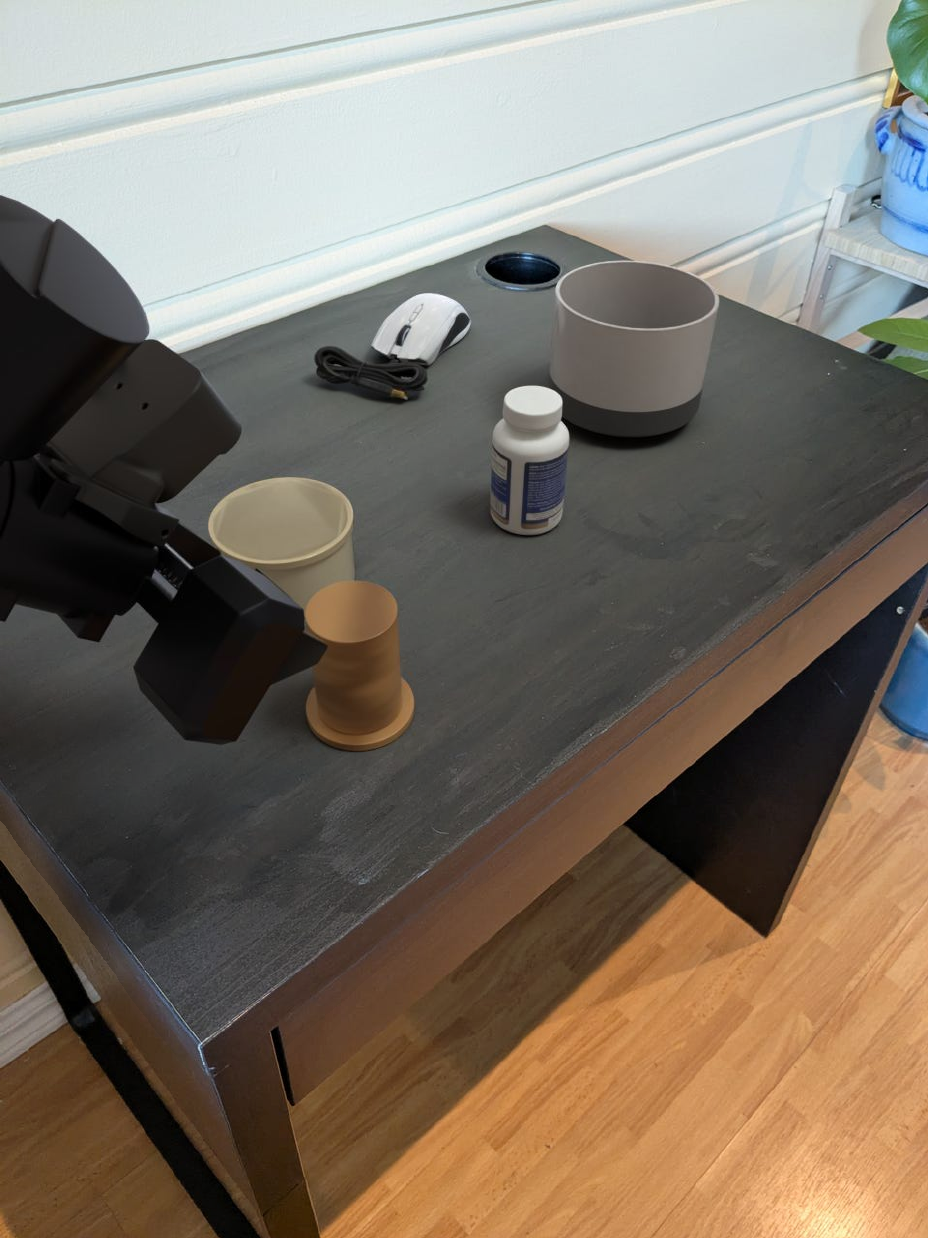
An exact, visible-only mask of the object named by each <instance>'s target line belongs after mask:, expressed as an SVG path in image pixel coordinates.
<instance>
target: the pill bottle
mask: <svg viewBox="0 0 928 1238" xmlns="http://www.w3.org/2000/svg"><path fill="white" fill-rule="evenodd" d="M562 403H563V402H562V398H561V396H560V395H559V394H558V393H557V392H555V391H554V390H551V389H549V388H548V387H545V386H540V385H523V386H519V387H516V388H513V389H511V390H509V391H508V392H507V393H505V396H504V398H503V407H502V418H501V419H500V420H499V421H498V422H497V423H496V425H495V427H494V428H493V432H492V437H491V438H492V439H491V440H492V442H491V466H490V468H491V472H490V473H491V474H490V515H491V519H492V520H493V521H494V523H495V524H496V525H497V526H498V527H499V528H501V529H503V530H505V531H507V532H509V533H512V534H516V535H523V536H535V535H541V534H544V533H546V532H547V533H548V532H549V531H552V530H553V529H554V528H555V527H557V526H558V524H559V523H560V521H561V520H562V517H563V511H564V502H565V500H564V499H565V491H566V480H567V469H568V458H569V448H570V432H569V430H568V427H567V426H566V425H565V424H564V422H563V421H562V418H563V417H562Z"/></svg>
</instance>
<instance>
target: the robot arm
mask: <svg viewBox="0 0 928 1238" xmlns="http://www.w3.org/2000/svg"><path fill="white" fill-rule="evenodd" d="M149 335H150V323H149V320H148V315H147V312H146V311H145V309H144V307H143V305H142V303H141V301H140V299H139V297H138V295H136V293H135V292H134V290H133V289H132V287H131V286H130V285H129V283H128V282H127V280H126V279H125V278H124V277H123V275H122V274H121V273H120V272H119V271H118V270H117V268H116V267H115V266H114V265H113V264H112V263H111V262H110V261H109V259H107V258H106V257H105V255H103V253H101V252H100V251H99V250H98V248H96V247H95V246H94V245H93V244H92V243H91V242H90V241H88V240H87V239H86V238H85V237H84V236H83V235H82V234H80V233H79V232H78V231H77V230H75V229H74V227H72V226H70V225H69V224H68V223H67V222H65V221H64V220H62V219H61V218H56V219H55V220H54V221H53V220H52V219H51V218H49V217H47V216H45V215H44V214H43V213H41V212H39V211H38V210H36V209H35V208H32V207H30V206H28V205H27V204H24V203H23V202H21V201H19V200H16V199H13V198H11V197H7V196H4V195H2V194H0V622H3V623H5V622H6V621H7V619H8V618H9V616H10V614H11V612H12V611H13V609H14V607H15V605H17V606H21V607H25V608H30V609H34V610H38V611H42V612H46V613H50V614H55V615H57V616H58V617H59V619H61V621H62V622H63V623H64V624H65V625H66V626H67V628H69V630H70V631H71V632H72V633H73V634H74V635H75V636H76V638H77V639H80V640H86V641H91V642H95V643H101V640H102V639H103V637H104V635H105V634H106V632H107V631H108V628H109V626H110V625H111V623H112V622H113V620H114V618H115V616H119V617H123V616H125V615H126V614H127V613H128V612H129V611H131V609H132V608H134V606H136V605H137V604H138V605H139V606H140V607H141V608H142V609H143V610H144V611H145V612H146V613H147V614H148V615H149V616H150V618H151V619H153V620H154V621H155V623H157V625H156V627H155V629H154V630H153V632H152V634H151V635H150V637H149V638H148V640H147V642H146V644H145V646H144V648H143V649H142V651H141V652H140V654H139V656H138V658H137V659H136V660H135V663H134V664H133V666H132V668H133V673H134V675H135V678H136V681H137V684H138V688H139V691H140V692H141V693H142V694H143V695H144V696H145V697H146V698H147V699H148V701H149V702H150V703H151V704H152V705H153V707H154V708H155V709H156V710H157V711H158V712H159V713H160V714H161V715H162V717H163V718H164V719H165V720H167V722H168V723H169V724H170V726H172V728H173V729H174V730H175V731H176V732H177V733H178V734H179V736H180V737H181V738H182V739H183V740H184V741H189V742H196V743H203V744H211V745H217V746H219V745H220V746H222V745H226V744H230V743H234V742H238V740H239V738H240V737H241V735H242V733H243V731H244V730H245V728H246V726H247V724H248V723H249V721H250V720H251V719H252V716H253V715H254V713H255V711H257V708H258V707H259V705H260V704H261V702H262V700H263V699H264V697H265V695H266V694H267V692H268V691H269V689H270V687H271V686H272V685H275V684H277V683H279V682H281V681H284V680H286V679H288V678H291V677H293V676H295V675H297V674H299V673H302V672H304V671H306V670H309V669H310V668H312V667H313V666H315V665H317V664H318V663H319V661H320V660H321V658H322V656H323V655H324V653H325V652H326V650H327V647H328V646H327V644H326V643H325V642H323V641H322V640H321V639H319V638H317V637H316V636H314V635H313V634H311V633H309V632H308V631H307V629H306V628H305V627H306V625H305V617H304V609H303V608H301V607H300V606H299V605H298V604H297V603H296V602H295V601H293V600H292V598H291V597H290V596H289V595H288V594H286V593H285V592H284V591H283V590H282V589H281V588H280V587H278V586H277V585H276V584H275V583H274V582H273V581H271V580H270V579H269V578H268V577H267V576H266V575H264V574H263V573H262V572H261V571H260V570H259V569H257V568H256V569H255V570H253V569H252V568H250V567H248V566H247V565H245V564H243V563H241V562H239V561H237V560H234V559H231V558H228V557H225V556H222V555H221V552H220V550H219V549H217V548H216V547H215V546H213V544H212V543H211V542H209V541H208V540H206V539H205V538H203V537H202V536H200V535H199V534H198V533H197V532H195V531H194V530H192V529H191V528H189V526H186V524H184V523H182V522H181V521H180V519H179V518H178V517H177V516H176V515H175V514H174V513H173V512H171V510H169V509H168V508H165V507H162V506H159V505H157V504H162V503H167V502H169V501H170V500H172V499H174V498H175V497H177V496H178V495H179V494H180V493H181V492H182V491H183V490H184V489H185V488H187V486H189V484H190V483H192V481H193V480H194V479H196V478H197V477H198V476H199V475H200V474H201V473H202V472H203V471H204V470H206V468H207V467H208V466H209V465H210V464H212V462H213V461H214V460H215V459H217V458H218V457H219V456H220V455H221V456H223V455H226V454H227V453H228V452H230V451H231V450H232V449H233V448H234V447H235V446H236V444H237V442H238V441H239V440H240V439H241V435H242V430H243V429H242V423H241V422H240V421H239V419H238V418H237V417H236V416H235V414H234V413H233V412H232V411H231V409H230V408H229V406H228V405H227V404H226V403H225V402H224V400H223V398H222V397H221V396H220V395H219V394H218V392H217V391H216V390H215V388H214V387H213V386H212V384H211V383H210V381H209V380H208V379H207V378H206V376H205V375H204V374H203V373H202V371H201V370H200V369H199V368H198V367H197V366H196V365H195V364H193V363H191V362H190V361H188V360H187V359H186V358H184V357H182V356H181V355H180V354H178V353H177V352H176V351H174V350H172V349H171V348H170V347H169V346H167V345H166V344H164V343H163V342H161V341H159V340H158V339H154V338H148V336H149ZM147 338H148V339H147Z"/></svg>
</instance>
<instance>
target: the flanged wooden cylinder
mask: <svg viewBox="0 0 928 1238" xmlns="http://www.w3.org/2000/svg"><path fill="white" fill-rule="evenodd" d="M304 623H305V627H306V628H305V630H306V631H308V632H309V633H311V634H313V635H314V636H316V637H317V638H319V639H321V640H322V641H323V642H325V643H326V644H327V646H328V647H327V650H326V652H325V653H324V655H323V656H322V658H321V660H320V661H319V663H318V664H317V665H315V666H313V667H311V673H312V678H313V684H314V685H313V687H312V689H311V690H310V692H309V693H308V696H307V699H306V702H305V715H306V720H307V724H308V726H309V728H310V730H311V732H312V733H313V734H314V735H315V736H316V737H317V738H318V739H319V740H320V741H322V742H323V743H325V744H326V745H328V746H331V747H332V748H334V749H339V750H343V751H349V752H363V751H365V752H366V751H371V750H375V749H379V748H381V747H385V746H387V745H388V744H391V743H392V742H394V741H396V740H397V739H399V737H401V736H402V735H403V734H404V733H405V732H406V731H407V729H409V726H410V725H411V723H412V721H413V719H414V715H415V697H414V693H413V690H412V688H411V686H410V685H409V684H408V682H407V681H406V680H405V679H404V678H403V677H402V666H401V665H402V664H401V644H400V629H399V628H400V627H399V625H400V624H399V607H398V604H397V600H396V598H395V597H394V596H393V594H392V593H391V592H390V591H388V590H387V589H386V588H384V586H382V585H379V584H376V583H373V582H370V581H364V580H354V581H344V582H339V583H335V584H332V585H330V586H327V587H325V588H323V589H322V590H320V591H318V592H317V593H316V594H315V595H314V596H313V597H312V598H311V599H310V600H309V602H308V604H307V606H306V609H305V617H304Z"/></svg>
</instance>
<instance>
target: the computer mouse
mask: <svg viewBox="0 0 928 1238" xmlns="http://www.w3.org/2000/svg"><path fill="white" fill-rule="evenodd" d="M471 325H472V320H471V317H470V316H469V314H468V312H467V310H466V309H465V308H464V307H463V305H461V304H460V303H459V302H458V301H457V300H455V299H453V298H451V297H449V296H446V295H442V294H439V293H431V292H430V293H429V292H427V293H419V294H417V295H414V296H411V298H408V299H407V300H405V301H404V302H403V303H402V304H400V305H399V306H398V307H397V308H396V309H395V310H393V311H392V312H391V313H390V314H389V315H388V316H387V317H386V318H385V319H384V320H383V322H382V324H381V325H380V327H379V328H378V330H377V332H376V333H375V335H374V338H373V340H372V342H371V344H370V348H371V349H372V350H374V351H375V352H376V353H379V354H381V355H382V356H385V357H387V358H388V359H390V361H389V363H380V364H379V363H375V364H374V363H368V362H367V361H365V360H364V361H362V360H360V359H358V358H357V357H355V356H353V355H352V354H350V353H349V352H347V351H346V350H344V349H342V348H340V347H339V346H334V345H326V346H323V347H320V348H319V349H317V350H316V352H314V353H315V354H314V358H313V360H314V363H315V365H316V369H315V370H316V371H315V373H316V375H317V377H319V378H321V379H322V380H325V381H327V382H328V383H329V384H333V385H339V384H347V383H349V384H350V385H351V386H353V385H354V386H355V387H358V388H361V389H364V390H368V391H370V392H373V393H375V394H379V395H383V396H386V397H389V398H399V399H403V400H404V401H408V398H409V394H408V392H407V391H414V392H415V391H416V392H423V391H424V390H425V387H424V385H426V384H427V382H428V380H429V379H428V378H429V377H428V371H427V369H425V368H424V367H423V366H430V365H432V364H433V363H434V362H435V361H436V359H437V358H438V357H439V356H440V355H441V354H442V353H443V352H444V351H446V350H447V349H448V348H450V347H452V346H454V345H455V344H457V343H458V342H460V341H461V340H462V339H463V338H464V337H465V336H466V335H467V333H468V331H469V329H470V328H471ZM406 378H408V379H406Z"/></svg>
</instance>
